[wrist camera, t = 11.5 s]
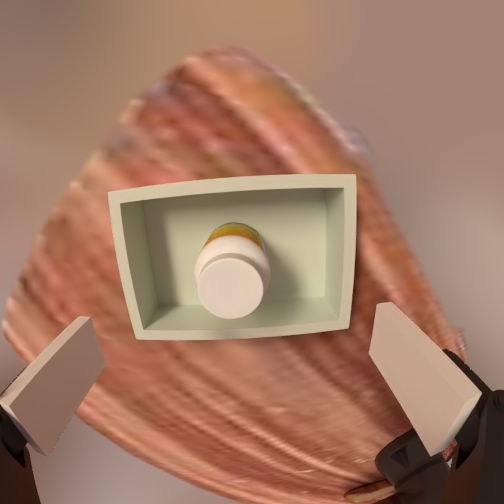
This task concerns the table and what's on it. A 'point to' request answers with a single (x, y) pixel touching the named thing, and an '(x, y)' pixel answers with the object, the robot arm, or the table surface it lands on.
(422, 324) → the table surface
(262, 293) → the supplement bottle
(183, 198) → the bin
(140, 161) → the table surface
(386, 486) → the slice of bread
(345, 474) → the table surface
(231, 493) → the table surface
